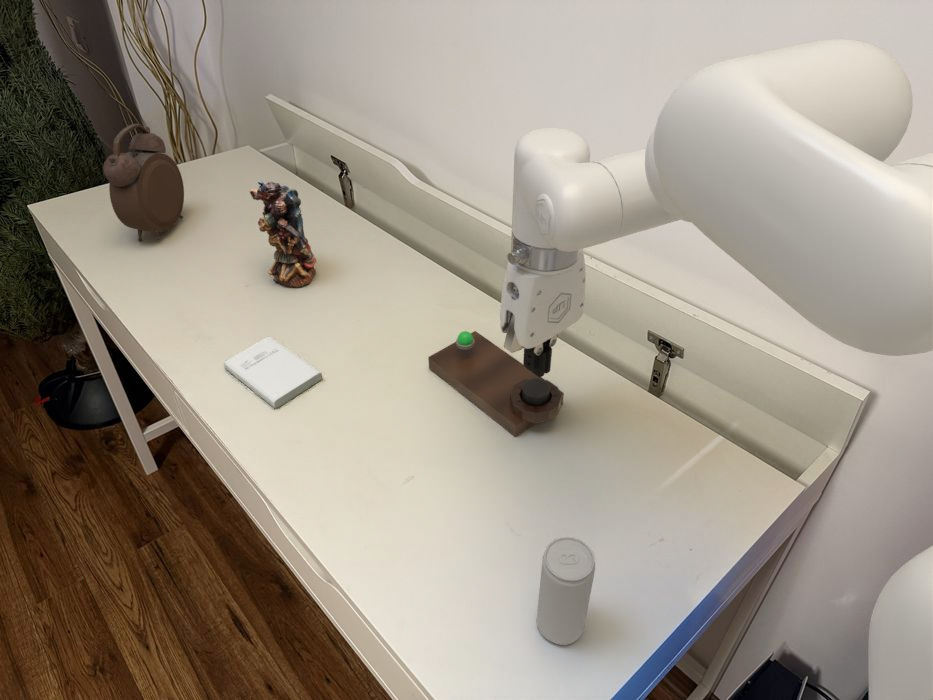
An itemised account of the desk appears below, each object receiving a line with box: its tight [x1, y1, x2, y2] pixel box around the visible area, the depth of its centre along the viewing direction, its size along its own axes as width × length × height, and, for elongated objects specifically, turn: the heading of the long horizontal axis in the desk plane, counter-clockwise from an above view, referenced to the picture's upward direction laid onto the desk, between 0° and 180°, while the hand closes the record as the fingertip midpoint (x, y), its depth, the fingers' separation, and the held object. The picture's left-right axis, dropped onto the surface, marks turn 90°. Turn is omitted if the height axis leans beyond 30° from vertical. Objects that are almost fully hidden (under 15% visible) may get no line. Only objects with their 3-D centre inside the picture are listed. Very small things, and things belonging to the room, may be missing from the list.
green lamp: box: [455, 330, 475, 350], centre depth 98 cm, size 3×3×2 cm
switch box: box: [427, 330, 565, 438], centre depth 96 cm, size 20×9×4 cm, turn 41°
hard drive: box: [223, 336, 323, 409], centre depth 100 cm, size 2×8×12 cm
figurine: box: [249, 180, 317, 288], centre depth 113 cm, size 11×9×18 cm
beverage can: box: [536, 536, 596, 646], centre depth 67 cm, size 5×5×12 cm
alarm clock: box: [102, 123, 185, 242], centre depth 126 cm, size 15×7×20 cm, turn 169°
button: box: [522, 378, 550, 407], centre depth 90 cm, size 4×4×2 cm
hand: (536, 368), depth 88 cm, fingers closed
